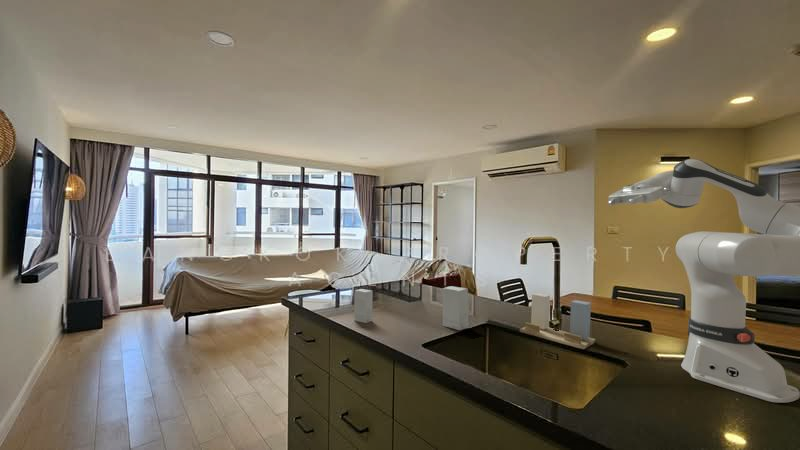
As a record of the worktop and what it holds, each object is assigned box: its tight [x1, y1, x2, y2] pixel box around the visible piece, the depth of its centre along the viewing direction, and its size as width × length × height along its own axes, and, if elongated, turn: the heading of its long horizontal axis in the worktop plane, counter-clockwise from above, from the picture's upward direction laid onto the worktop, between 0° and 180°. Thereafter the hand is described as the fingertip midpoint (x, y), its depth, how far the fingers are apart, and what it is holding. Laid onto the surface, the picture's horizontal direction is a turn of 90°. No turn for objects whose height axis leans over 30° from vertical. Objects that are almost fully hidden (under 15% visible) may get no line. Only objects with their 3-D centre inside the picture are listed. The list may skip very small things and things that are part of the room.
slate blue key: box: [569, 299, 592, 340], centre depth 119 cm, size 4×5×12 cm
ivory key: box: [530, 292, 551, 330], centre depth 130 cm, size 4×5×12 cm
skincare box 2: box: [441, 285, 469, 331], centre depth 131 cm, size 8×6×15 cm
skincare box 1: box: [353, 288, 374, 324], centre depth 136 cm, size 6×4×12 cm
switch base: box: [519, 322, 596, 350], centre depth 123 cm, size 10×22×3 cm, turn 43°
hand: (619, 202), depth 133 cm, fingers open, 8 cm apart
